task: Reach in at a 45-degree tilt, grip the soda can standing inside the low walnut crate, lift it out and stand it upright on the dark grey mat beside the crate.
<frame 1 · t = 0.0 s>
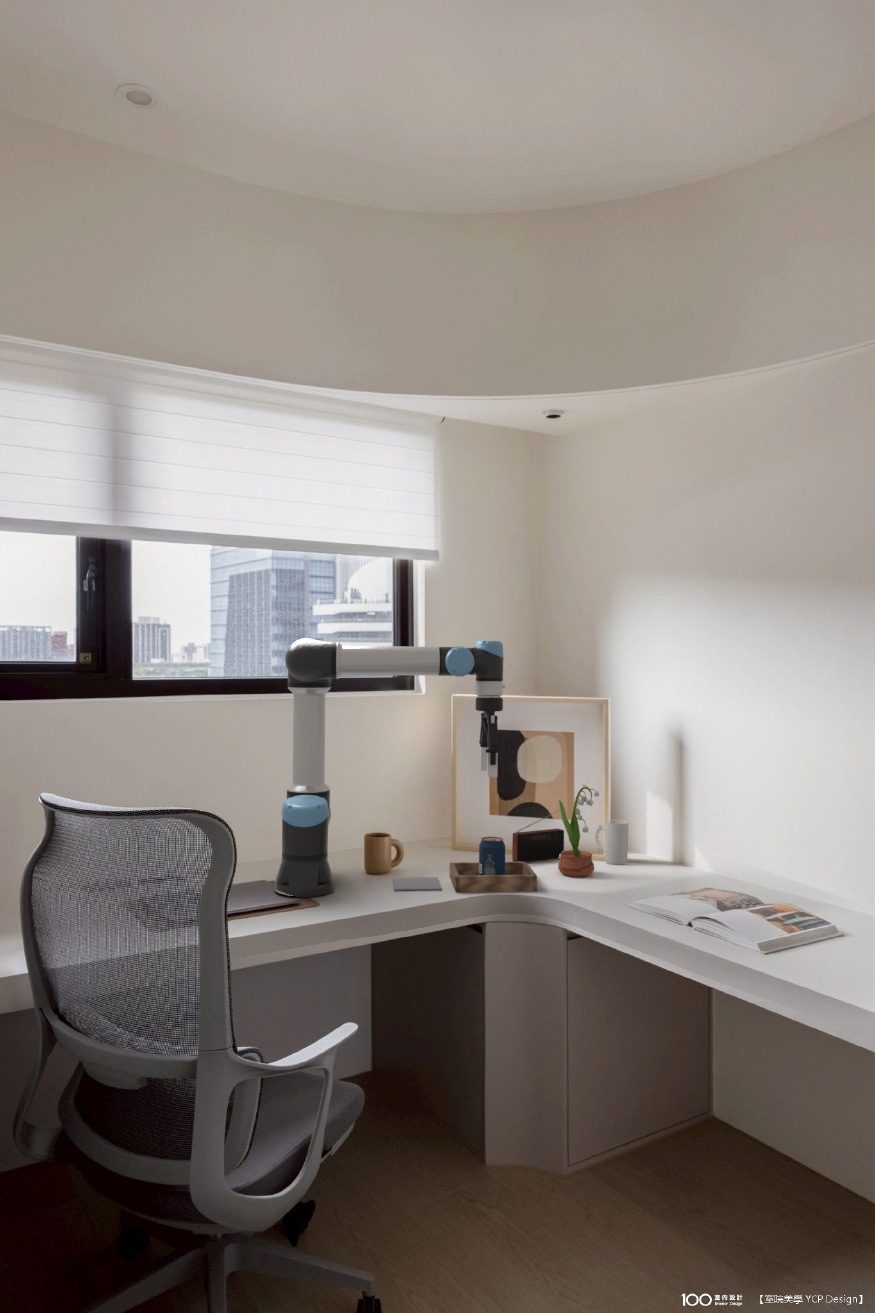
hand: (488, 773, 250), 28 cm above the table, tool pointing down, fingers open, 13 cm apart
soda can: (491, 884, 241), resting in walnut crate
radio: (541, 860, 270), on the table
walnut crate: (491, 884, 241), on the table
grey mat: (416, 884, 239), on the table
mug: (611, 862, 268), on the table
potted flower: (579, 874, 253), on the table
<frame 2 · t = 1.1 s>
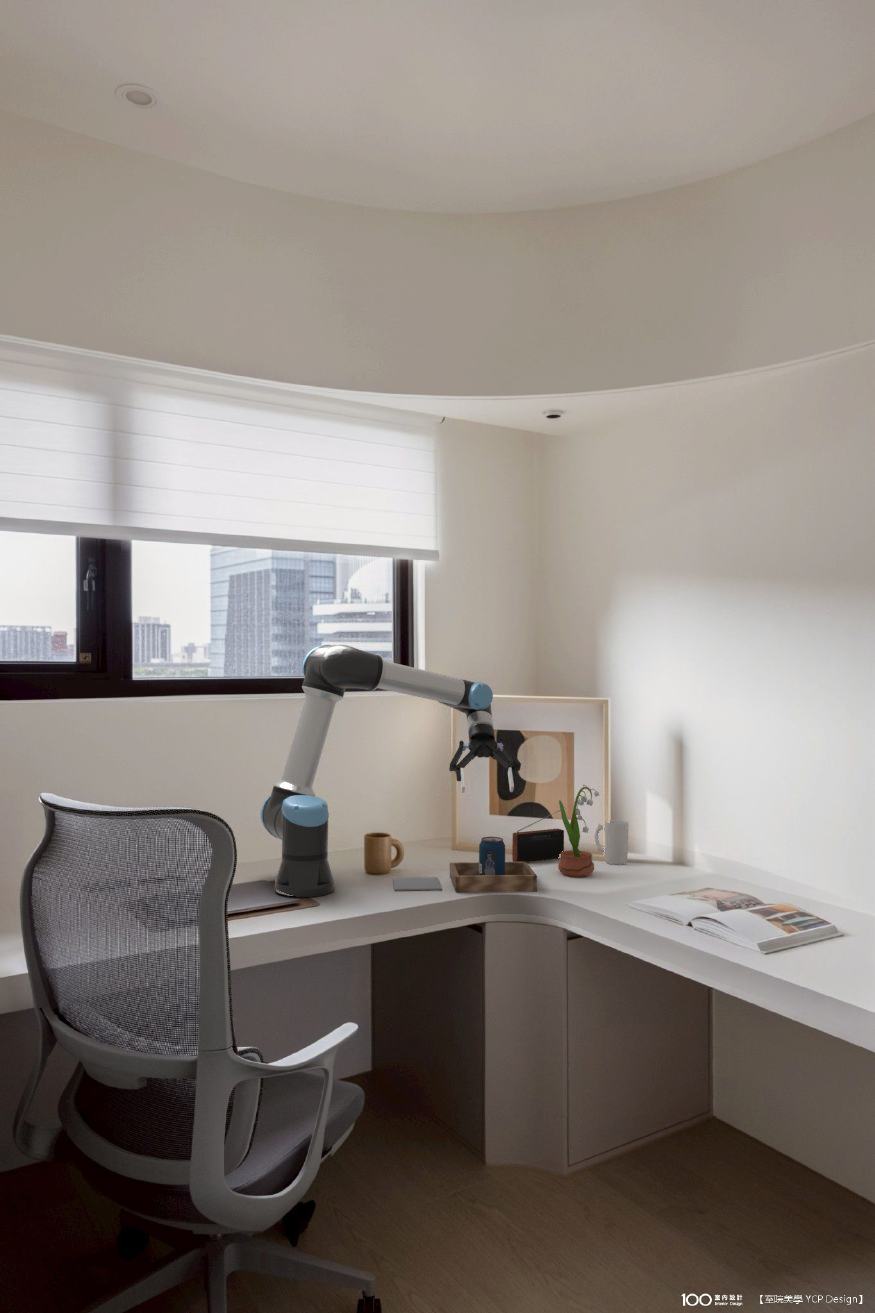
hand: (487, 789, 251), 24 cm above the table, tool tilted 45°, fingers open, 13 cm apart
nothing on the table moved.
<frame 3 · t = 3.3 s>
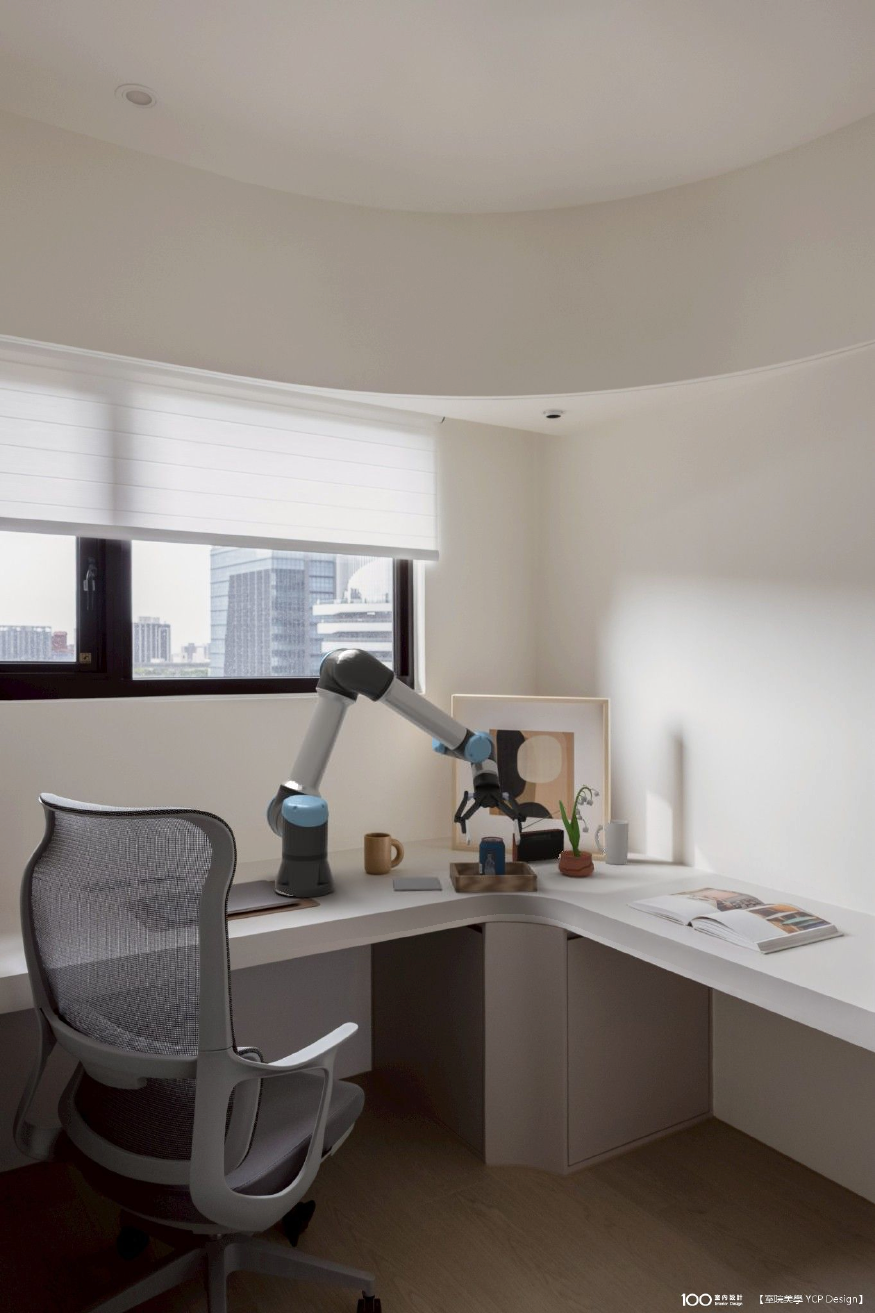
hand: (493, 842, 246), 10 cm above the table, tool tilted 45°, fingers open, 13 cm apart
nothing on the table moved.
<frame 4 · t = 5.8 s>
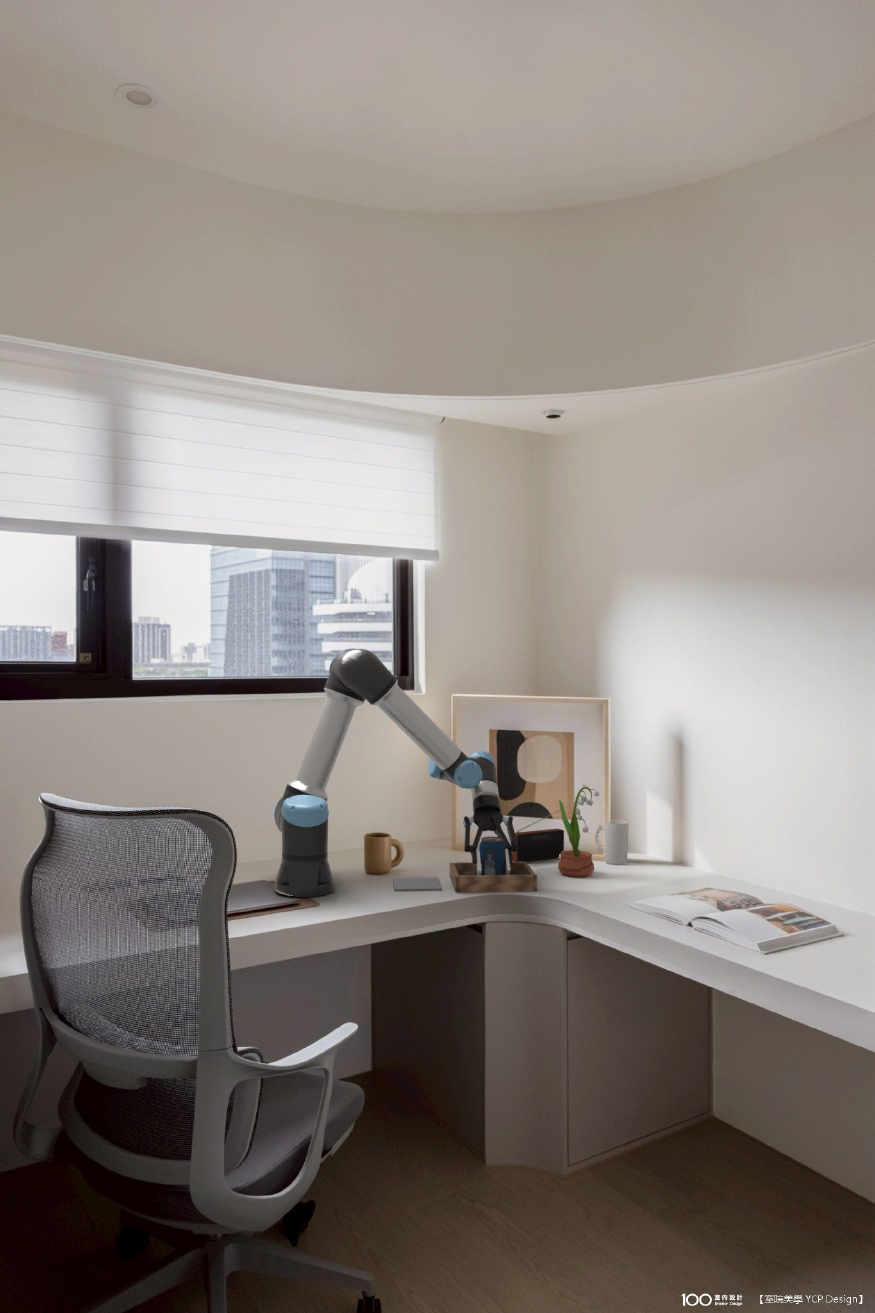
hand: (494, 873, 237), 4 cm above the table, tool tilted 45°, fingers closed on soda can, 7 cm apart
soda can: (491, 884, 241), resting in walnut crate, touching gripper
everything else where it was.
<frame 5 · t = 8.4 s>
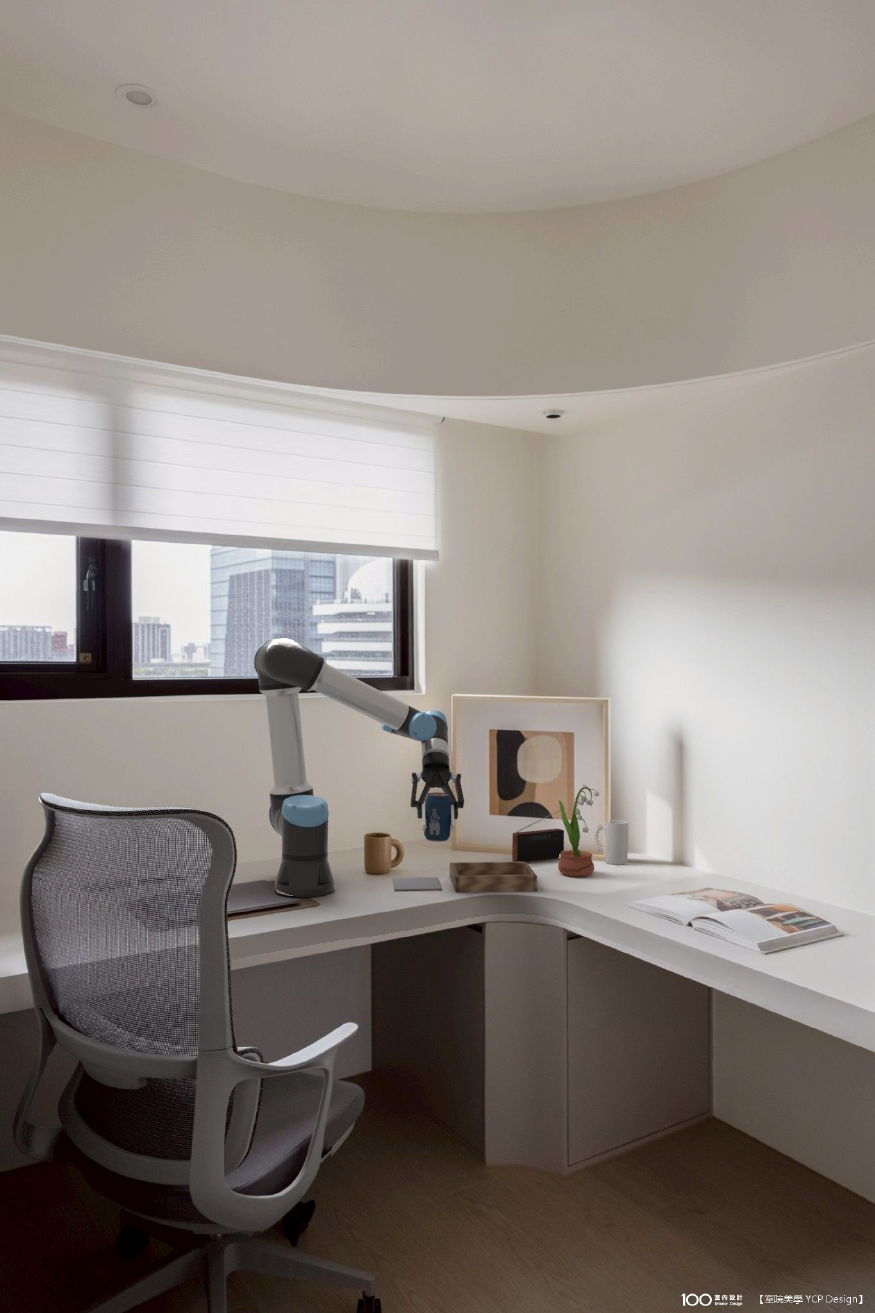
hand: (438, 828, 236), 16 cm above the table, tool tilted 45°, fingers closed on soda can, 7 cm apart
soda can: (436, 840, 240), point 12 cm above the table, touching gripper
everything else where it was.
when the fingers open (5 cm above the table, at t = 11.5 s): soda can drops 1 cm, resting on grey mat.
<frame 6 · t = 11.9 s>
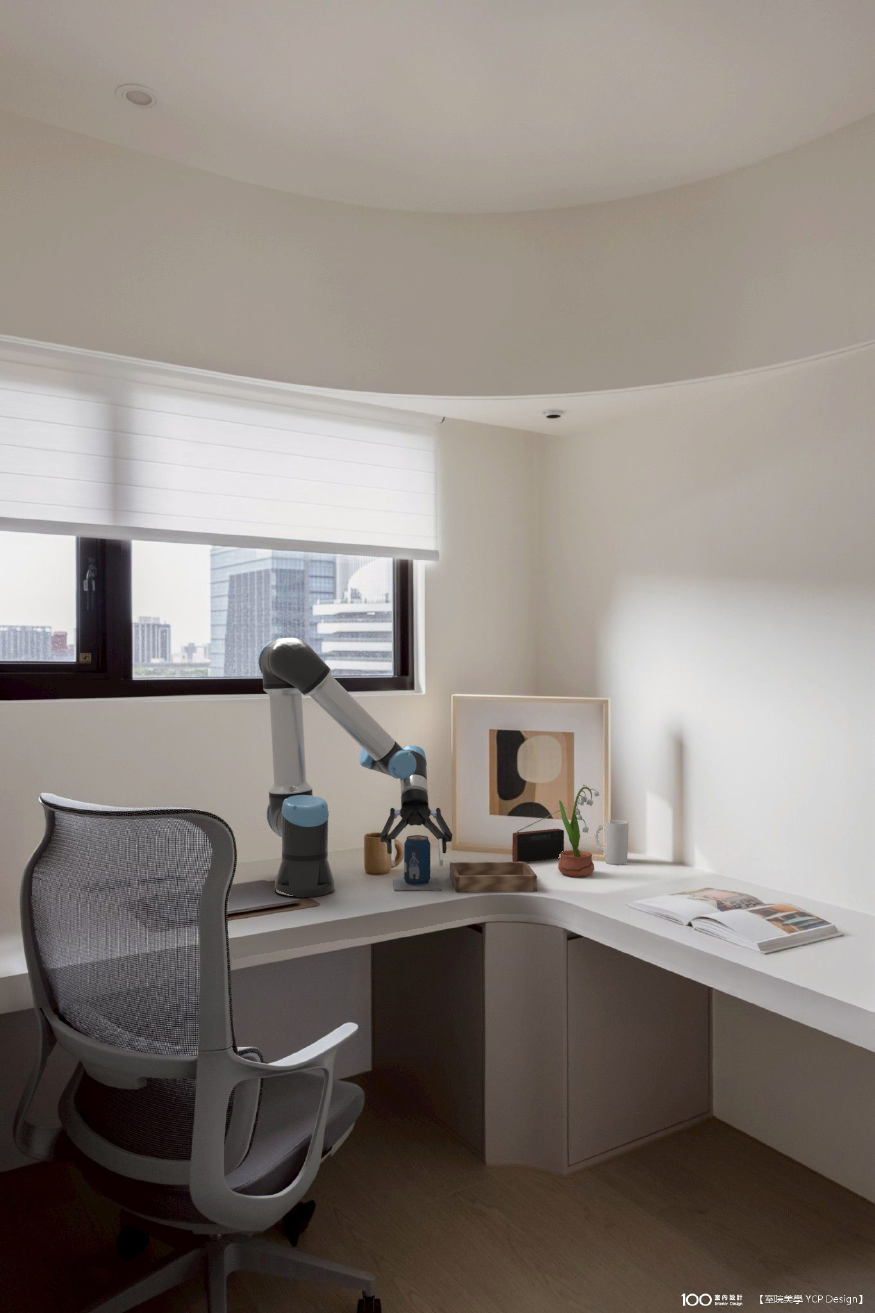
hand: (417, 863, 237), 6 cm above the table, tool tilted 45°, fingers open, 12 cm apart
soda can: (417, 883, 239), resting on grey mat
everything else where it was.
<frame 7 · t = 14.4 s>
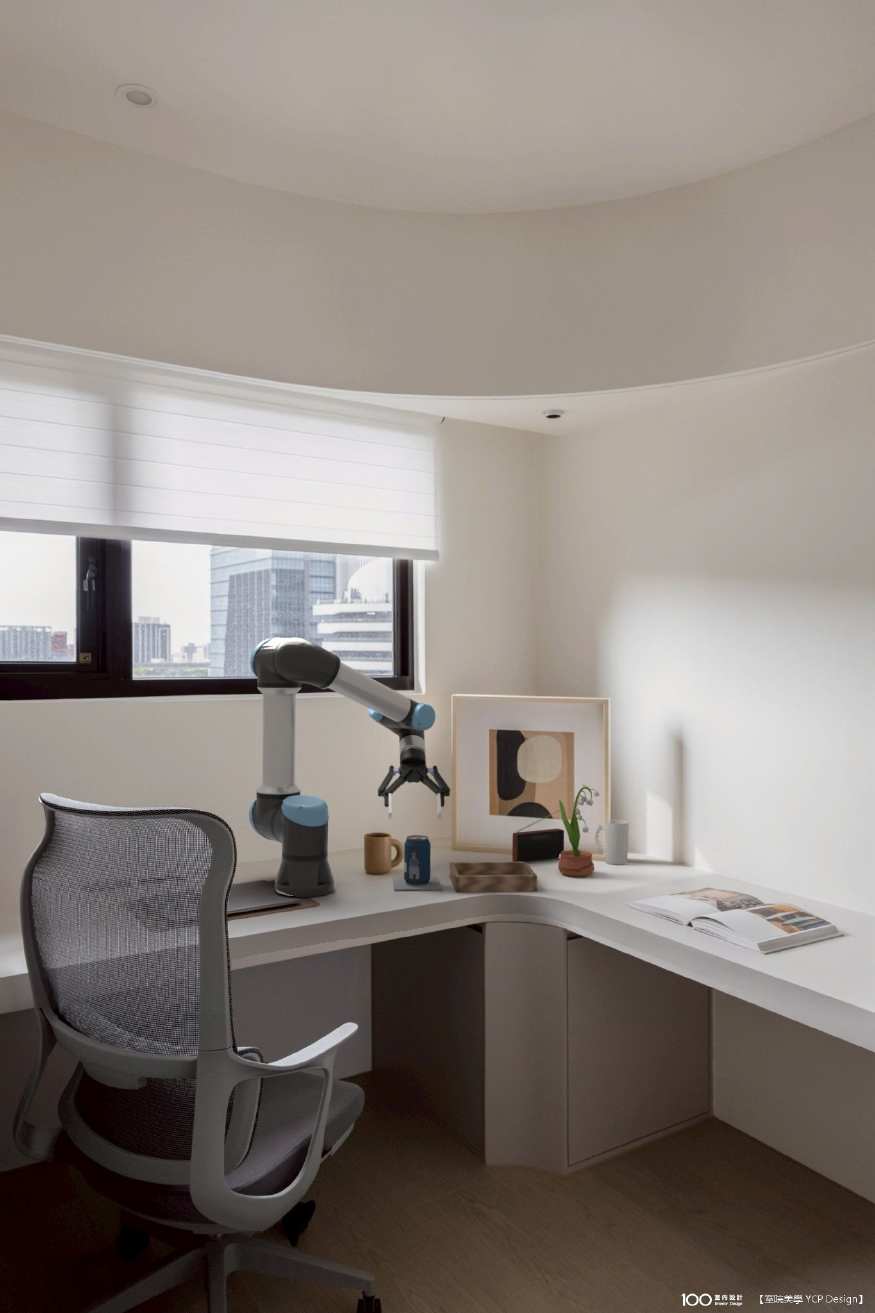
hand: (414, 815, 249), 16 cm above the table, tool tilted 45°, fingers open, 13 cm apart
nothing on the table moved.
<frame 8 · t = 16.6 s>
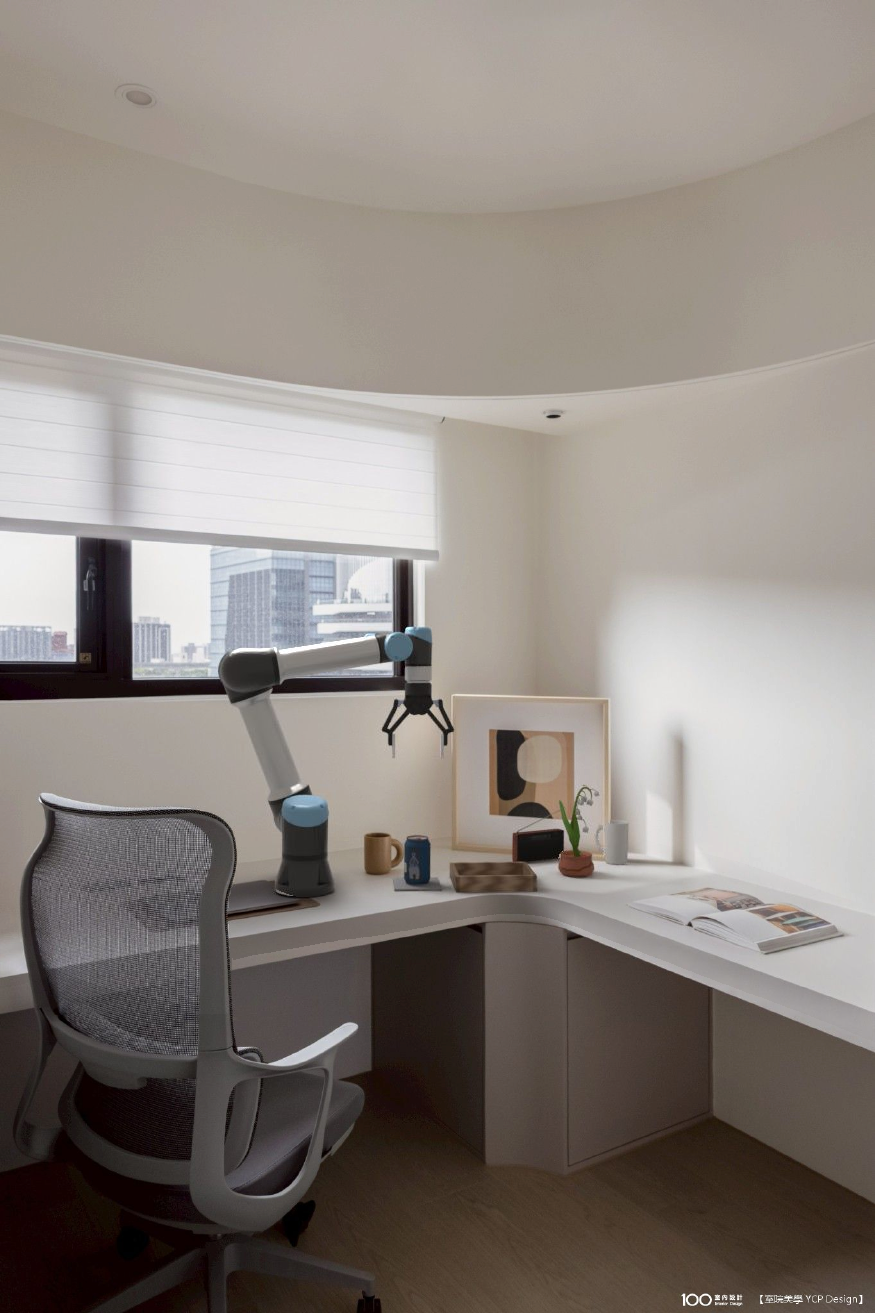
hand: (417, 757, 255), 32 cm above the table, tool pointing down, fingers open, 13 cm apart
nothing on the table moved.
at the end: soda can inside the target area on the grey mat (0.1 cm from its centre), point 0.3 cm above the grey mat's base; soda can tilted 0°; the gripper is holding nothing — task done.
